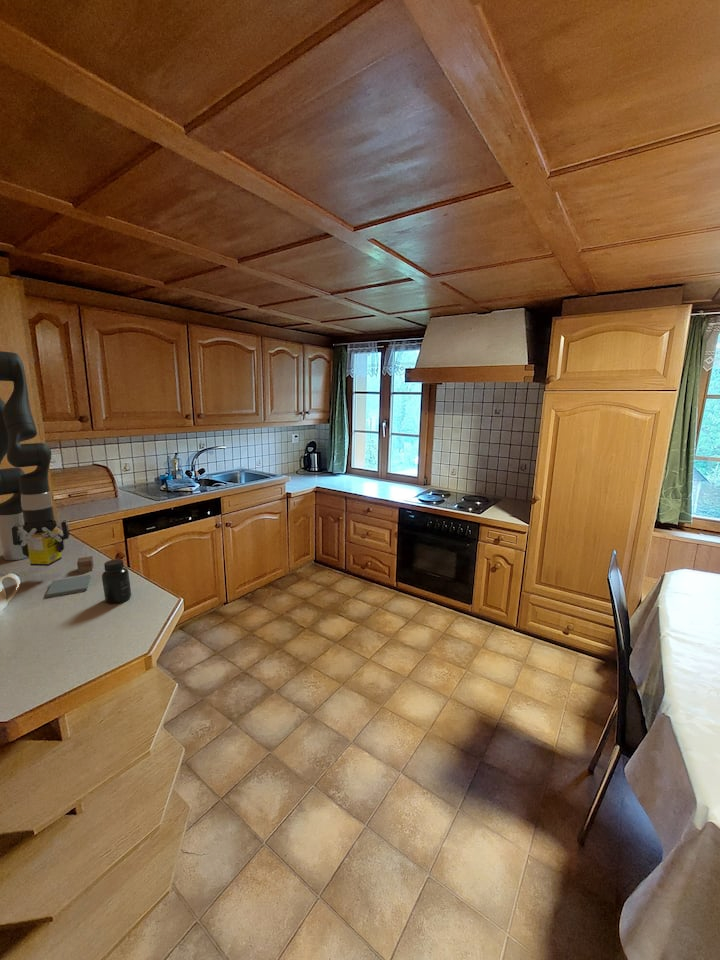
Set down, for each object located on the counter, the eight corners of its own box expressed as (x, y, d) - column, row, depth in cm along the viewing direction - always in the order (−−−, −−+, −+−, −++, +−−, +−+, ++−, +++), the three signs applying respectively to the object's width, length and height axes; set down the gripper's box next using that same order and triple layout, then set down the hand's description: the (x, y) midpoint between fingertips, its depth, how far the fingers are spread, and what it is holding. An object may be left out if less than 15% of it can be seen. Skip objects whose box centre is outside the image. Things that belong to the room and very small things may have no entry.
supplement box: (62, 558, 132) (58, 528, 129) (48, 566, 126) (43, 534, 123) (44, 558, 131) (40, 527, 129) (29, 565, 126) (24, 534, 123)
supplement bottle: (127, 591, 123) (124, 555, 120) (134, 599, 118) (130, 562, 115) (102, 598, 118) (97, 561, 115) (108, 607, 113) (103, 569, 111)
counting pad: (53, 583, 126) (52, 580, 126) (90, 577, 131) (90, 574, 130) (46, 597, 117) (46, 594, 117) (86, 590, 122) (86, 587, 122)
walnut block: (80, 568, 137) (78, 557, 137) (93, 566, 139) (92, 556, 138) (78, 573, 134) (77, 562, 133) (92, 570, 136) (91, 560, 135)
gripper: (66, 500, 131) (73, 546, 134) (11, 505, 124) (19, 553, 127) (62, 506, 124) (69, 554, 128) (4, 511, 118) (13, 561, 121)
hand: (44, 553), depth 128 cm, fingers closed on supplement box, 8 cm apart
